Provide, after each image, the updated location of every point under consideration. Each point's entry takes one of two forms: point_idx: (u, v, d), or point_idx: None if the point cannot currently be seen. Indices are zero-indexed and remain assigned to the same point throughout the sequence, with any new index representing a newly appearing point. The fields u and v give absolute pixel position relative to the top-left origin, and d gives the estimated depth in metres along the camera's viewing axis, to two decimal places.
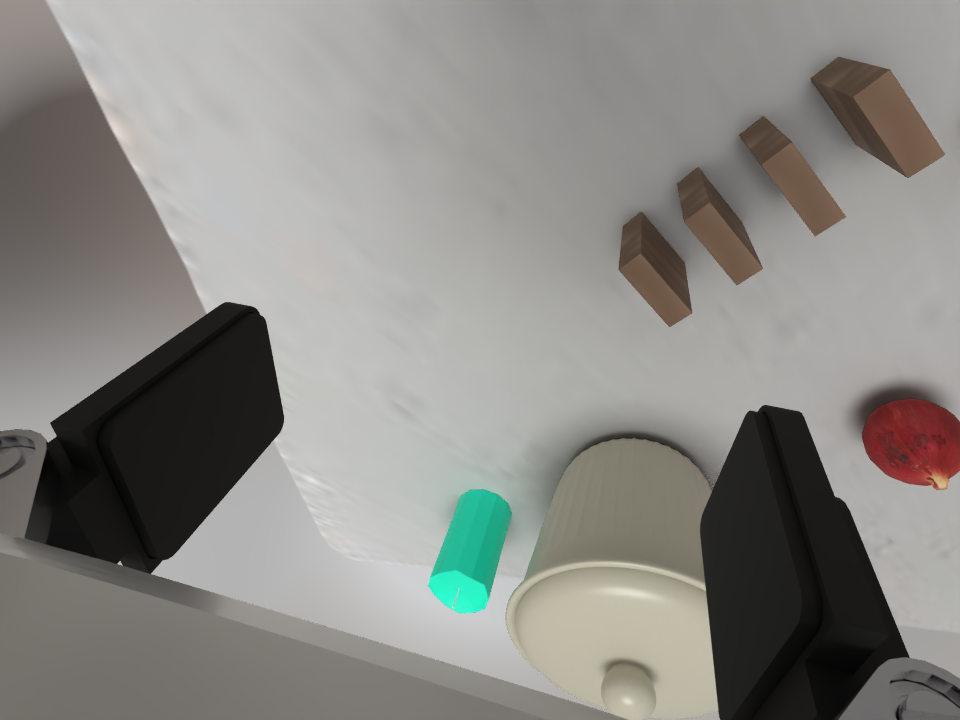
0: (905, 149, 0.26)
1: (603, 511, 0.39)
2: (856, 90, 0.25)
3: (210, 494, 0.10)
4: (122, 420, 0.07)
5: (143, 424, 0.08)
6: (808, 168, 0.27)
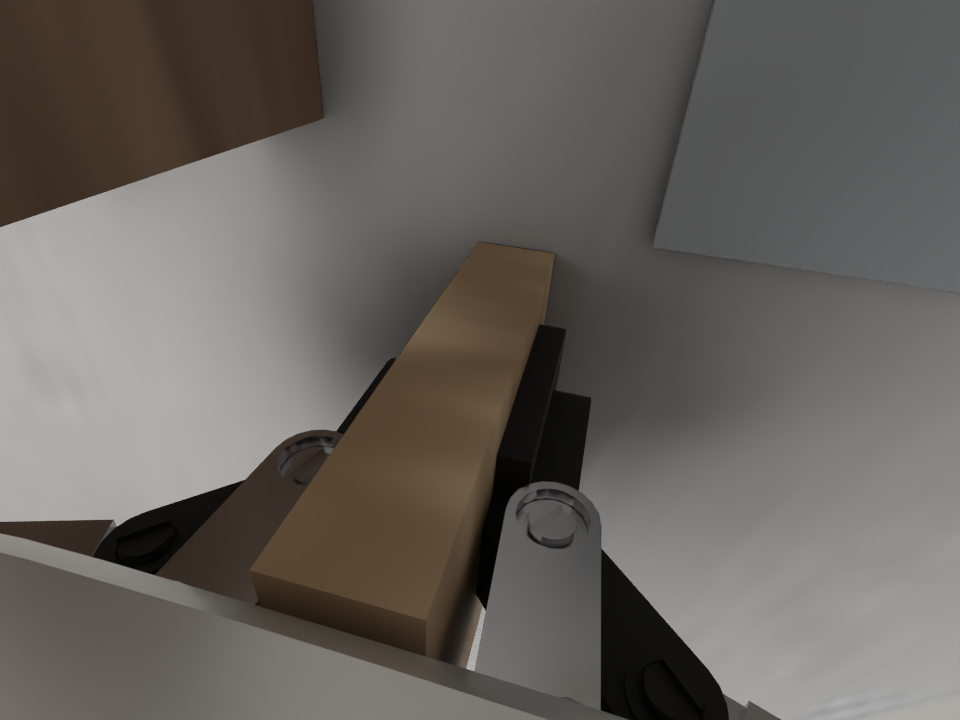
0: None
1: None
2: None
3: None
4: None
5: None
6: None
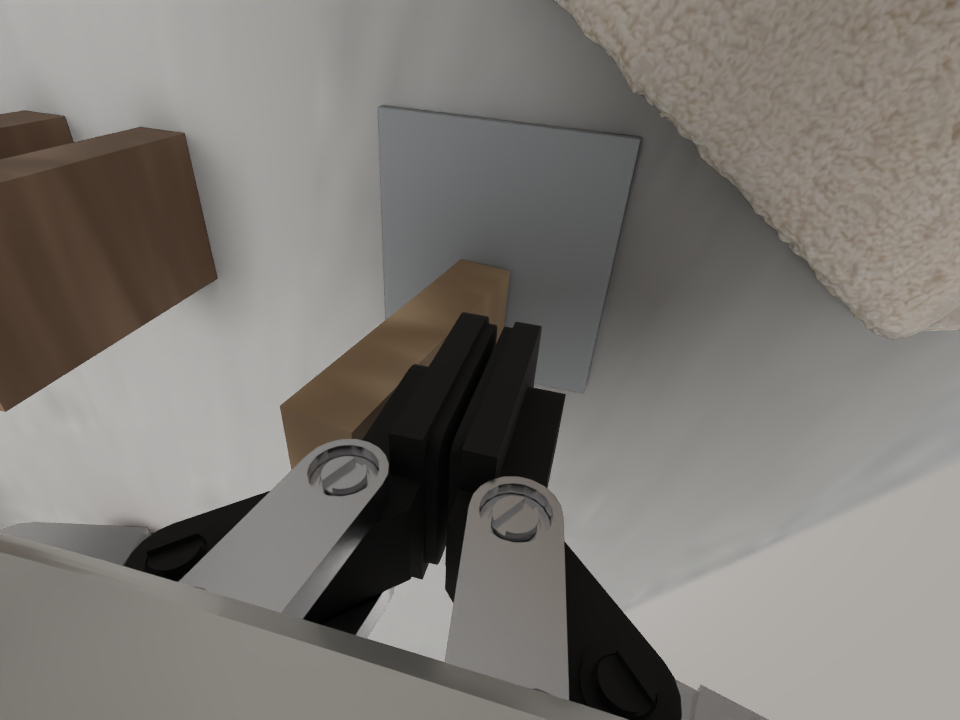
0: None
1: None
2: None
3: None
4: (446, 430, 0.08)
5: (450, 433, 0.08)
6: None
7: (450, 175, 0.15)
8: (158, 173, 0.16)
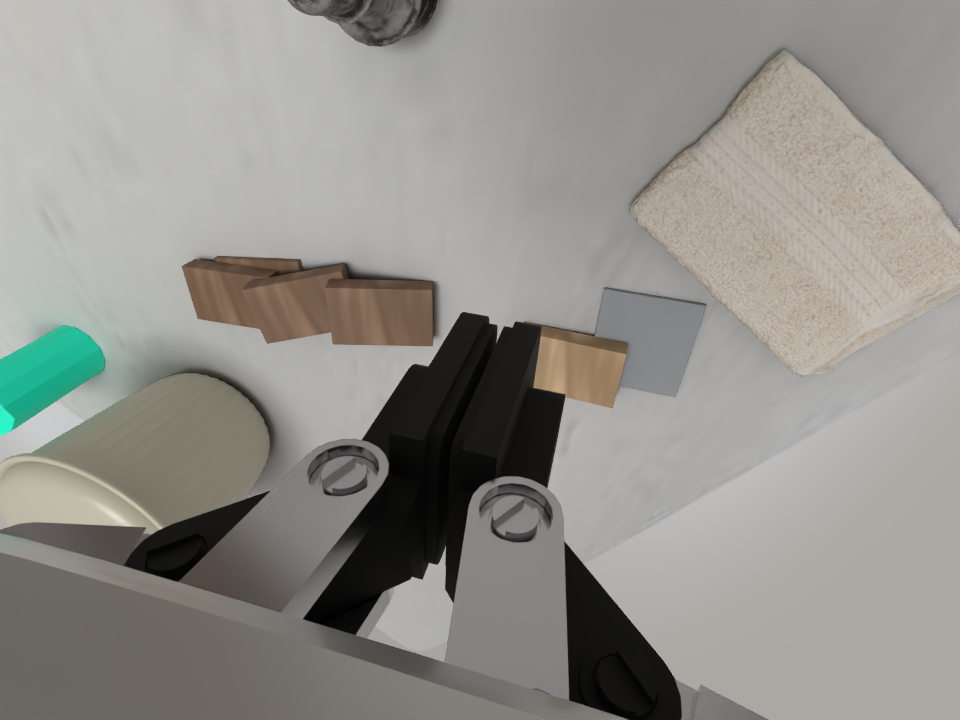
0: None
1: (150, 439, 0.44)
2: (336, 280, 0.41)
3: None
4: (446, 430, 0.08)
5: (450, 433, 0.08)
6: (250, 308, 0.43)
7: (629, 313, 0.39)
8: (413, 300, 0.41)
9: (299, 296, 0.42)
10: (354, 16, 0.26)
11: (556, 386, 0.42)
